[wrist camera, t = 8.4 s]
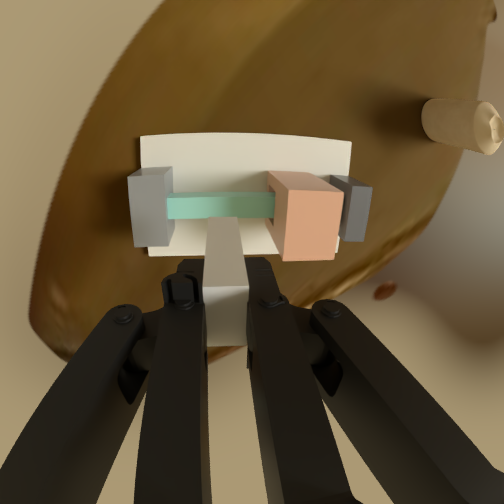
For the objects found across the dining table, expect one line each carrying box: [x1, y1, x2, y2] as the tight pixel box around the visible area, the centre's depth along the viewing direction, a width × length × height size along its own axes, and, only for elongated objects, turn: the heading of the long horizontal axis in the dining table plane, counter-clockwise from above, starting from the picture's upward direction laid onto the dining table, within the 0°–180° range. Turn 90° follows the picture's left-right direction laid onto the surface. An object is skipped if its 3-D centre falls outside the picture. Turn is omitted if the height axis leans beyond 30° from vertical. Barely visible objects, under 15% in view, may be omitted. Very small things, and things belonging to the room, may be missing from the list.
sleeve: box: [265, 171, 344, 261], centre depth 23 cm, size 5×4×8 cm
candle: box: [421, 99, 504, 155], centre depth 21 cm, size 6×6×10 cm
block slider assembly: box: [128, 133, 373, 256], centre depth 24 cm, size 12×20×6 cm, turn 88°
